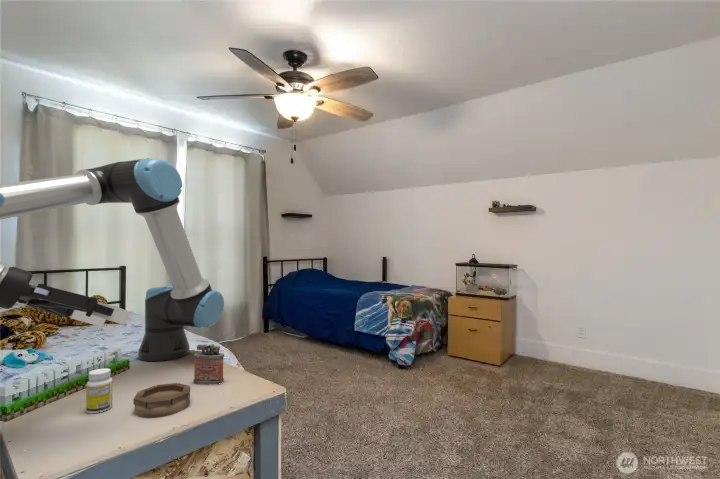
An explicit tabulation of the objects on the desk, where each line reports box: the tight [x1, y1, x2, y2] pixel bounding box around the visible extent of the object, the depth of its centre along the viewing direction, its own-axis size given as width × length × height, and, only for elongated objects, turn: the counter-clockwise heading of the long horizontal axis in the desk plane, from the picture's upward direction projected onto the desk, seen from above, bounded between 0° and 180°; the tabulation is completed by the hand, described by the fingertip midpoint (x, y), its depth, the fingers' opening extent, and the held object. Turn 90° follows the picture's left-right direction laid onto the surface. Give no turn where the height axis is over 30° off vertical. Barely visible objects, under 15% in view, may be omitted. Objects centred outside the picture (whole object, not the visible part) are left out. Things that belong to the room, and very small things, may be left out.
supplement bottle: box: [85, 367, 114, 414], centre depth 82 cm, size 5×5×8 cm
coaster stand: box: [132, 382, 191, 419], centre depth 83 cm, size 11×11×3 cm
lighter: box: [193, 343, 225, 386], centre depth 99 cm, size 8×3×10 cm, turn 84°
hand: (115, 320), depth 82 cm, fingers open, 13 cm apart
